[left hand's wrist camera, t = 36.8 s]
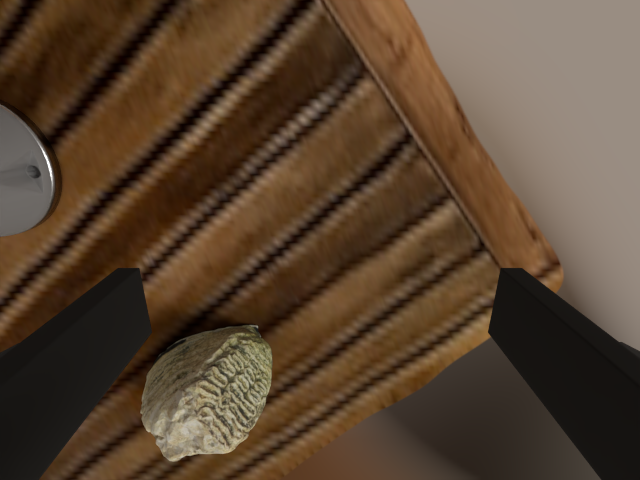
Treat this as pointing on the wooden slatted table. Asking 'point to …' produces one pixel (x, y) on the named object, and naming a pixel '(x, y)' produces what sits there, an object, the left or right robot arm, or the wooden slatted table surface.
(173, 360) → the fossil
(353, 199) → the wooden slatted table surface
